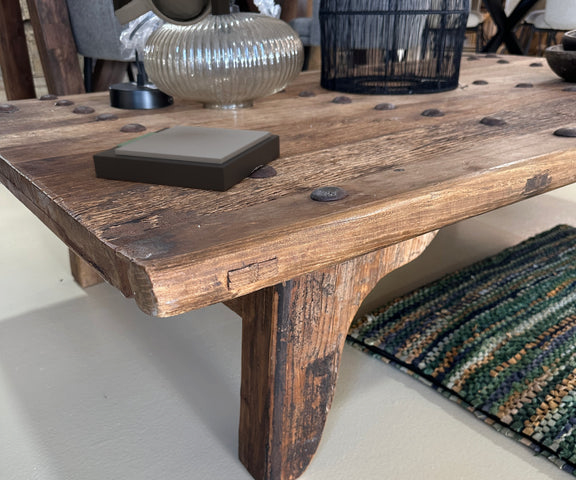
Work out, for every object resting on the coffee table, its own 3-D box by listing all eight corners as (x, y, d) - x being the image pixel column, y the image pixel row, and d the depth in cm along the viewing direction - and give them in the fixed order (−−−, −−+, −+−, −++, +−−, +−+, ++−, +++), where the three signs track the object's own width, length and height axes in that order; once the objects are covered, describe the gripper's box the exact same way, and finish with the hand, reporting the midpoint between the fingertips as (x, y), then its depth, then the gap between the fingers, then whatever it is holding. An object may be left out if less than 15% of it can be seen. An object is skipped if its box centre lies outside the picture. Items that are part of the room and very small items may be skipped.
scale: (96, 177, 63) (91, 149, 62) (168, 146, 76) (165, 122, 74) (224, 191, 58) (222, 161, 57) (280, 155, 70) (279, 130, 69)
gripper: (11, -245, 52) (60, 17, 63) (245, -292, 45) (257, 16, 55) (67, -221, 59) (103, 14, 69) (280, -258, 51) (285, 13, 61)
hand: (171, 15), depth 62 cm, fingers closed on ceramic mug, 11 cm apart
